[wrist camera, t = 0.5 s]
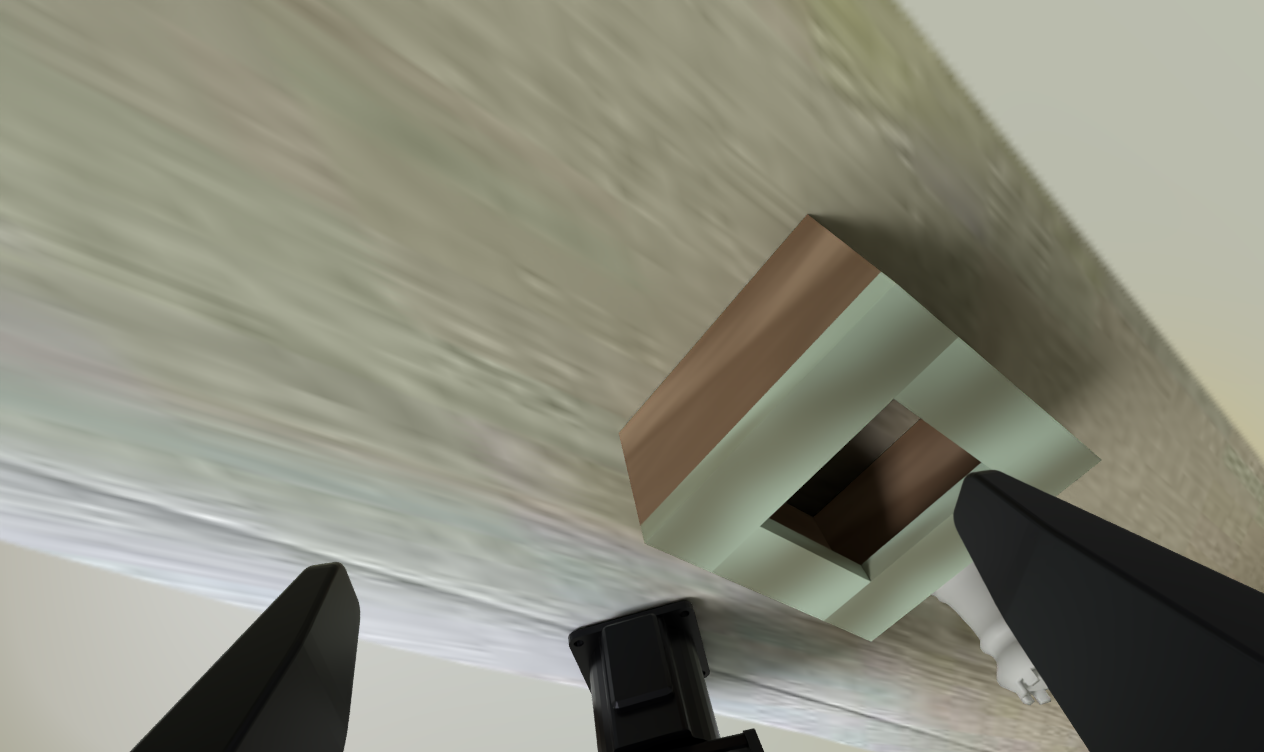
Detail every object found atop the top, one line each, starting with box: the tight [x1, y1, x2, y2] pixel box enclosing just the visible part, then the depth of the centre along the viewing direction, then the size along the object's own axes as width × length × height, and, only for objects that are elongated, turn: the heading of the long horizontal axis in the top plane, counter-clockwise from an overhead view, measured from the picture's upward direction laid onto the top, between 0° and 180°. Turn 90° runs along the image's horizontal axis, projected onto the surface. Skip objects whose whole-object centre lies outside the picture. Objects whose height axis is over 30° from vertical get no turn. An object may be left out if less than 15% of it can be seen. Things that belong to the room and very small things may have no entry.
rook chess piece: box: [931, 562, 1051, 705], centre depth 29 cm, size 4×4×8 cm
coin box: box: [619, 214, 1101, 641], centre depth 24 cm, size 12×11×6 cm
